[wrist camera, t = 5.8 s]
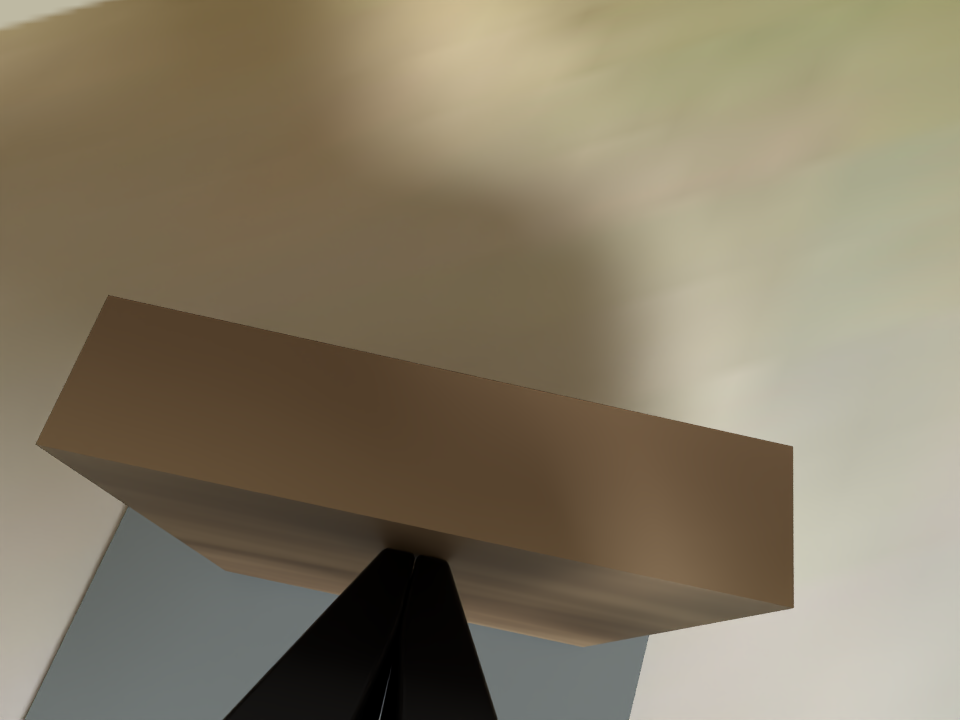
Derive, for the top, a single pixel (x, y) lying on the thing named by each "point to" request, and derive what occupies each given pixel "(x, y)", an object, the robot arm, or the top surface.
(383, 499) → the board
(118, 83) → the top surface
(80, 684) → the mat
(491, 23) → the top surface
